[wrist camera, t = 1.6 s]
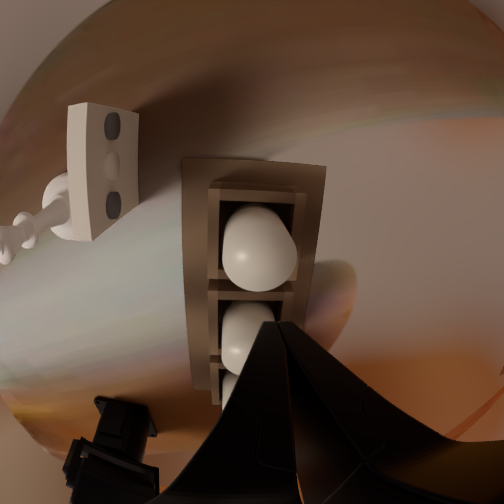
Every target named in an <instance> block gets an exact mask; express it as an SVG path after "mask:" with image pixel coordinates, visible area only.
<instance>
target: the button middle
mask: <svg viewBox="0 0 504 504" xmlns="http://www.w3.org/2000/svg"><path fill="white" fill-rule="evenodd" d="M263 321H275V319H274V314H273V310H272V308H271V306H270V304H269V303H268V302H267V301H262V300H232V301H230V302H229V303H228V304H227V306H226V307H225V309H224V312H223V325H222V362H223V364H224V366H225V367H226V368H227V369H228V370H229V371H231V372H232V373H234V374H236V375H240V372H241V370H242V368H243V366H244V363H245V361H246V359H247V357H248V354H249V352H250V350H251V347H252V345H253V343H254V340H255V338H256V336H257V333H258V331H259V329H260V326H261V324H262V322H263Z"/></svg>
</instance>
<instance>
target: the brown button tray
mask: <svg viewBox="0 0 504 504" xmlns="http://www.w3.org/2000/svg"><path fill="white" fill-rule="evenodd" d="M325 176H326V166H318V165H308V164H299V163H288V162H275V161H261V160H243V159H215V158H182V251H183V276H184V294H185V309H186V323H187V335H188V345H189V356H190V365H191V374H192V383H193V390H211V395H212V405H222V400H223V372H224V371H225V369H227V368H226V367H225V366H224V364H223V362H222V325H223V312H224V309H225V307H226V306H227V304H228V303H229V302H230V301H232V300H262V301H267V302H268V303H269V304H270V306H271V308H272V310H273V314H274V319H275V321H276V322H278V321H292V322H293V323H294V324H296V325H297V326H298V327H299V328H300V329H301V330H302V327H303V322H304V317H305V312H306V307H307V301H308V296H309V290H310V284H311V278H312V272H313V266H314V260H315V253H316V247H317V240H318V232H319V226H320V218H321V210H322V202H323V194H324V185H325ZM248 203H261V204H264V205H267V206H269V207H270V208H272V209H273V210H274V211H275V212H276V213H277V214H278V216H279V217H280V219H281V221H282V222H283V224H284V226H285V228H286V229H287V231H288V233H289V234H290V236H291V238H292V240H293V241H294V244H295V246H296V250H297V261H296V266H295V268H294V270H293V272H292V274H291V275H290V277H289V278H288V279H287V280H286V281H285V282H284V283H283V284H281V285H280V286H278V287H276V288H274V289H271V290H268V291H261V292H256V291H249V290H246V289H243V288H241V287H239V286H237V285H236V284H235V283H233V282H232V281H231V280H230V279H229V277H228V276H227V274H226V272H225V270H224V267H223V262H222V255H223V242H224V230H225V224H226V221H227V219H228V217H229V216H230V214H231V213H232V212H233V211H234V210H235V209H236V208H238V207H240V206H242V205H244V204H248Z"/></svg>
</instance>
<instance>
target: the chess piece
mask: <svg viewBox="0 0 504 504" xmlns="http://www.w3.org/2000/svg"><path fill="white" fill-rule="evenodd" d="M42 206H43V210H41V211H40V212H39V213H37V214H36V215H34V216H32V215H31V214H30V213H28V212H21V213H19V214H18V215H17V216H16V218H15V219H14V222H13V225H11V226H0V263H1V264H5V265H6V264H9V263H11V262H12V260H13V259H14V257H15V256H16V253H17V252H18V250H19V249H20V247H21V246H22V247H23V248H27V249H28V248H33V247H35V246H36V244H37V243H38V240H39V233H40V232H42V231H44V230H47V229H51V230H52V231H53V232H54V233H55V234H56V235H57V236H59V237H61V238H63V239H66V240H74V236H73V229H72V221H71V212H70V202H69V189H68V172H66V173H63V174H60V175H59V176H57V177H55V178H54V179H53V180H52V181H51V182H50V183H49V184H48V186H47V187H46V190H45V192H44V196H43V203H42Z"/></svg>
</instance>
